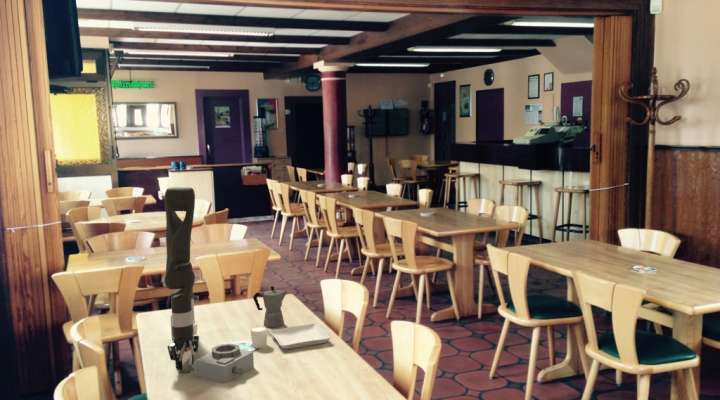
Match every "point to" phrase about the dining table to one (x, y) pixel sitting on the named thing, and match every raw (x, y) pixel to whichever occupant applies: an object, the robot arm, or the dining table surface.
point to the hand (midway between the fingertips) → (185, 367)
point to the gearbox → (224, 363)
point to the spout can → (186, 361)
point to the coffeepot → (271, 307)
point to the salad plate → (299, 336)
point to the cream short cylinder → (259, 337)
